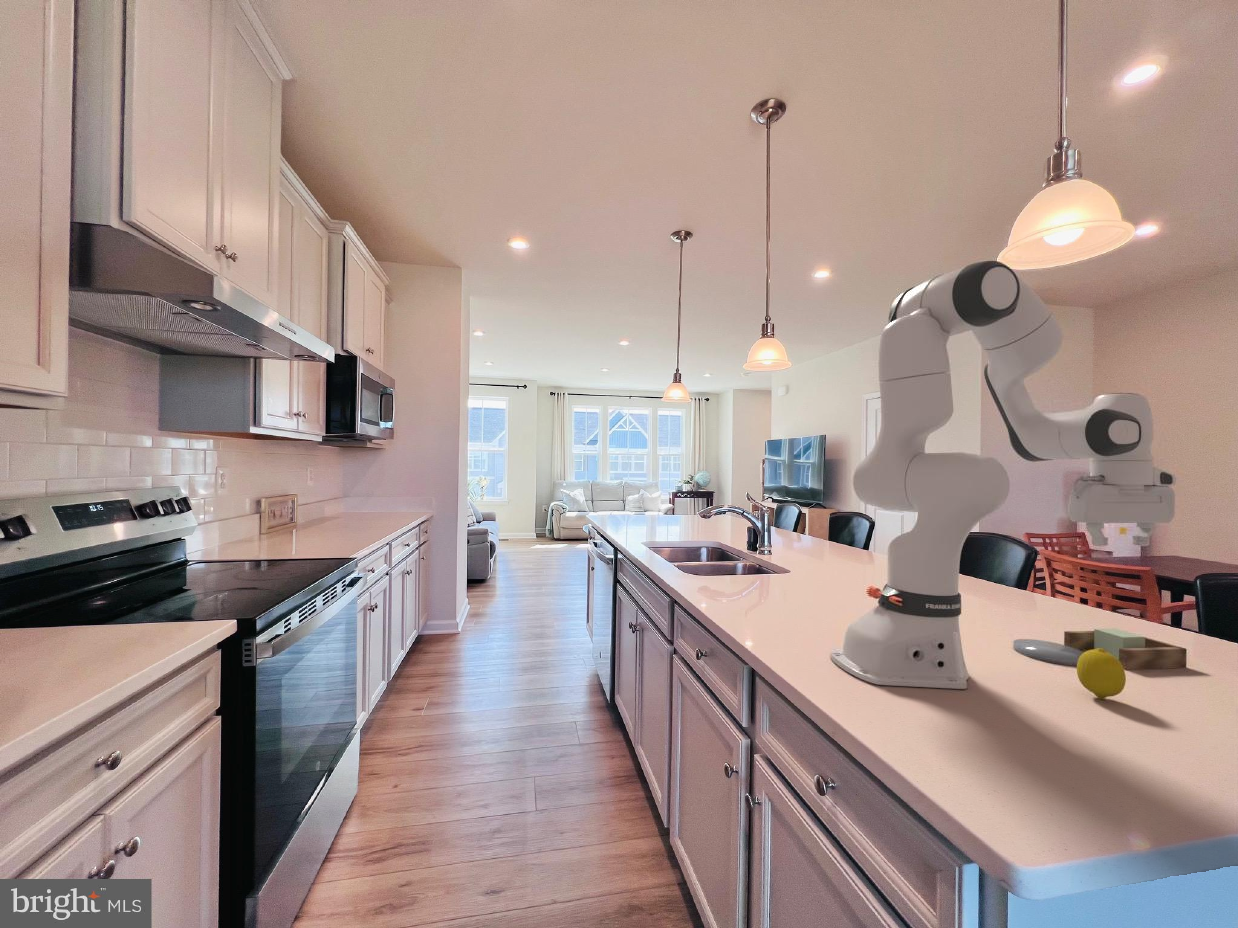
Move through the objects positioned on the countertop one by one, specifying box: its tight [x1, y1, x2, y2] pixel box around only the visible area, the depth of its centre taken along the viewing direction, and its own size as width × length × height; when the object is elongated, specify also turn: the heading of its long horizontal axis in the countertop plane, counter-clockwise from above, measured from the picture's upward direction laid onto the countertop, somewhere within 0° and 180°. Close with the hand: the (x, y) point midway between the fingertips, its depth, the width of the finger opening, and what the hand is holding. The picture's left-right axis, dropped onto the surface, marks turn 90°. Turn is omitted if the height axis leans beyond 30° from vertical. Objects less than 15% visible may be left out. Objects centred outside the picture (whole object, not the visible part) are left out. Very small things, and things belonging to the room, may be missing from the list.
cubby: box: [1063, 630, 1188, 671], centre depth 96 cm, size 14×11×4 cm
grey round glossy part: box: [1012, 638, 1085, 666], centre depth 97 cm, size 11×11×1 cm
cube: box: [1093, 628, 1146, 660], centre depth 96 cm, size 5×5×5 cm
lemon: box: [1076, 648, 1127, 700], centre depth 77 cm, size 6×6×8 cm
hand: (1120, 545), depth 96 cm, fingers open, 8 cm apart
